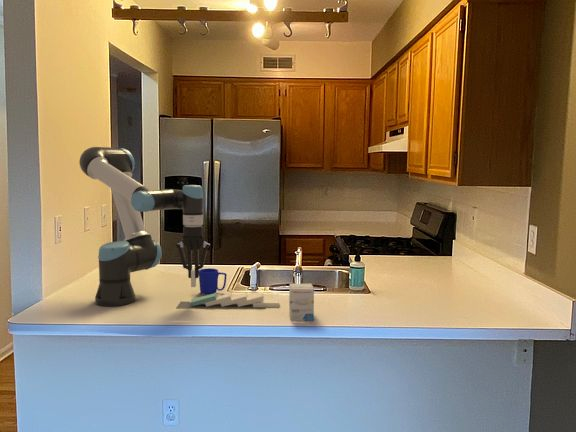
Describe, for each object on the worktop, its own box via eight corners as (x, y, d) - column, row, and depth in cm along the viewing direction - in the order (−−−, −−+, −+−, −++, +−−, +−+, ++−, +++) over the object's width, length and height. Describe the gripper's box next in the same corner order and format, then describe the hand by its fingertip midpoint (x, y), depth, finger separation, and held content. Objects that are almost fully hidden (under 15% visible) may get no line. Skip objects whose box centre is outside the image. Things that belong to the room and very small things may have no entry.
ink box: (311, 313, 192) (312, 283, 190) (313, 320, 183) (314, 288, 182) (288, 313, 191) (289, 283, 190) (289, 320, 183) (290, 288, 182)
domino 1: (205, 302, 198) (230, 296, 198) (206, 299, 203) (231, 292, 203) (206, 306, 198) (231, 300, 198) (207, 303, 203) (232, 296, 203)
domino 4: (253, 302, 198) (279, 303, 198) (253, 299, 203) (279, 299, 203) (253, 307, 198) (279, 307, 198) (253, 303, 203) (279, 303, 203)
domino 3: (237, 303, 198) (262, 296, 198) (238, 299, 203) (262, 292, 203) (238, 307, 198) (263, 300, 198) (239, 303, 203) (263, 296, 203)
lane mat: (175, 309, 195) (175, 308, 195) (180, 302, 205) (180, 301, 205) (265, 309, 196) (265, 308, 196) (266, 302, 206) (266, 301, 206)
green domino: (189, 302, 198) (214, 295, 197) (191, 299, 202) (216, 292, 202) (190, 306, 198) (216, 299, 198) (193, 303, 203) (217, 296, 203)
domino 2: (220, 302, 198) (246, 296, 198) (222, 299, 203) (246, 293, 203) (221, 306, 198) (247, 300, 198) (223, 303, 203) (247, 297, 203)
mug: (223, 297, 214) (223, 273, 213) (195, 295, 216) (195, 271, 215) (229, 292, 222) (229, 269, 221) (202, 290, 224) (202, 267, 223)
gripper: (174, 226, 193) (174, 288, 196) (208, 227, 193) (209, 288, 196) (177, 224, 201) (178, 283, 203) (211, 224, 201) (211, 284, 203)
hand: (193, 286), depth 199 cm, fingers closed
